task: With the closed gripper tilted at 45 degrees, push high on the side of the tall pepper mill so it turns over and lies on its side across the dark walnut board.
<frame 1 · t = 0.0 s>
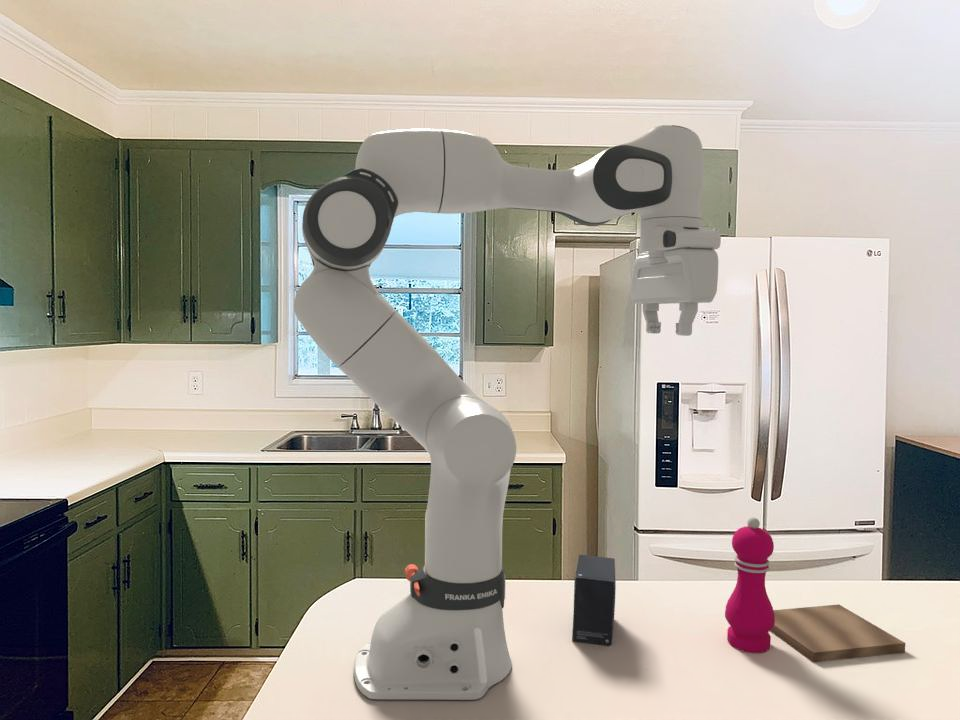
hand: (667, 334, 102), 48 cm above the countertop, tool pointing down, fingers open, 8 cm apart
small box: (593, 630, 110), on the countertop
walnut board: (826, 635, 109), on the countertop
pepper mill: (748, 644, 106), on the countertop
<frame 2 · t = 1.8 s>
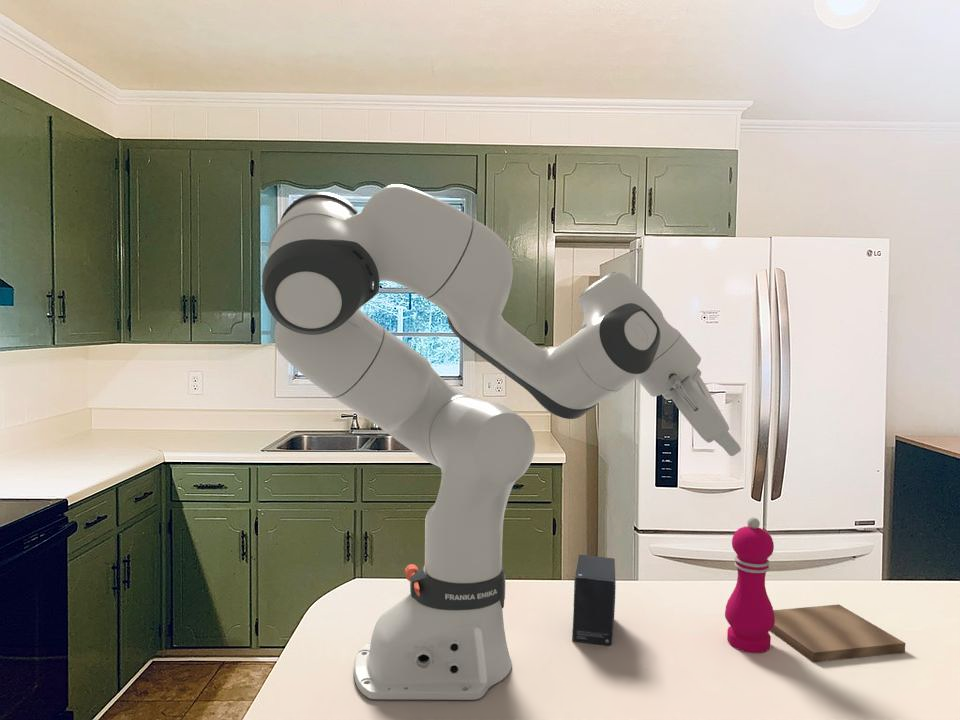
hand: (730, 441, 98), 33 cm above the countertop, tool tilted 40°, fingers open, 8 cm apart
nothing on the countertop moved.
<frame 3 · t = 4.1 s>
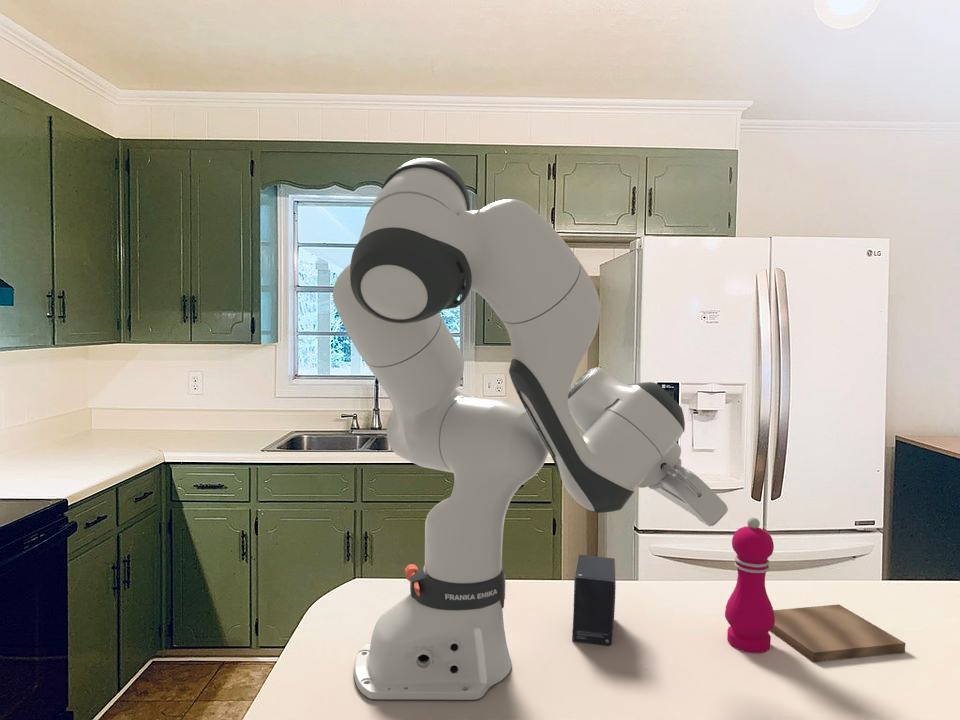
hand: (709, 520, 102), 20 cm above the countertop, tool tilted 45°, fingers closed
nothing on the countertop moved.
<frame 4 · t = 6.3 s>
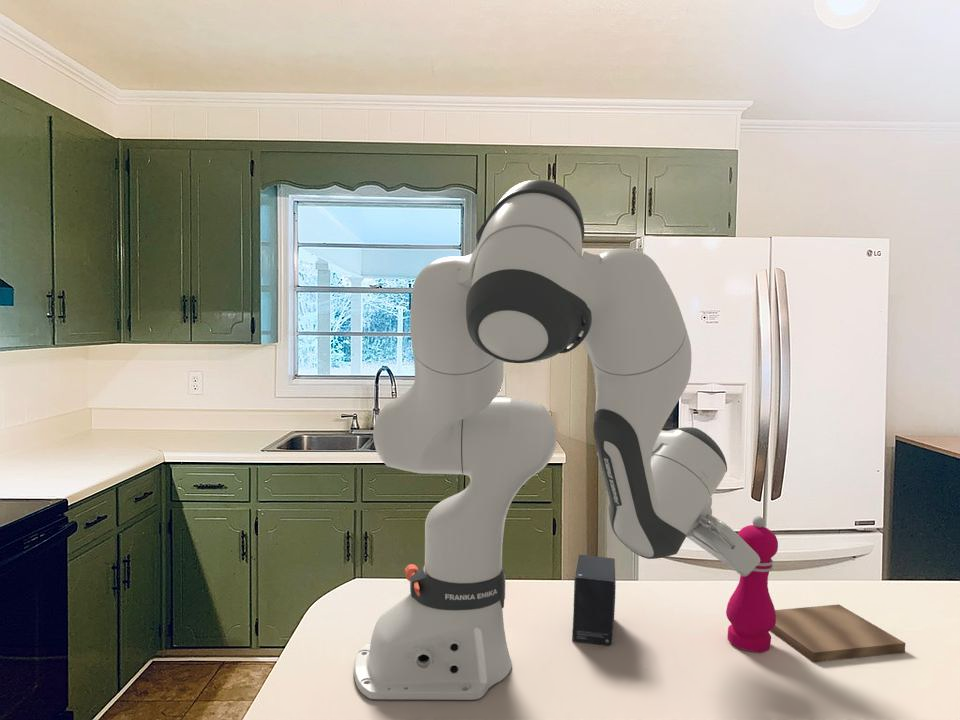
hand: (738, 566, 104), 13 cm above the countertop, tool tilted 45°, fingers closed
nothing on the countertop moved.
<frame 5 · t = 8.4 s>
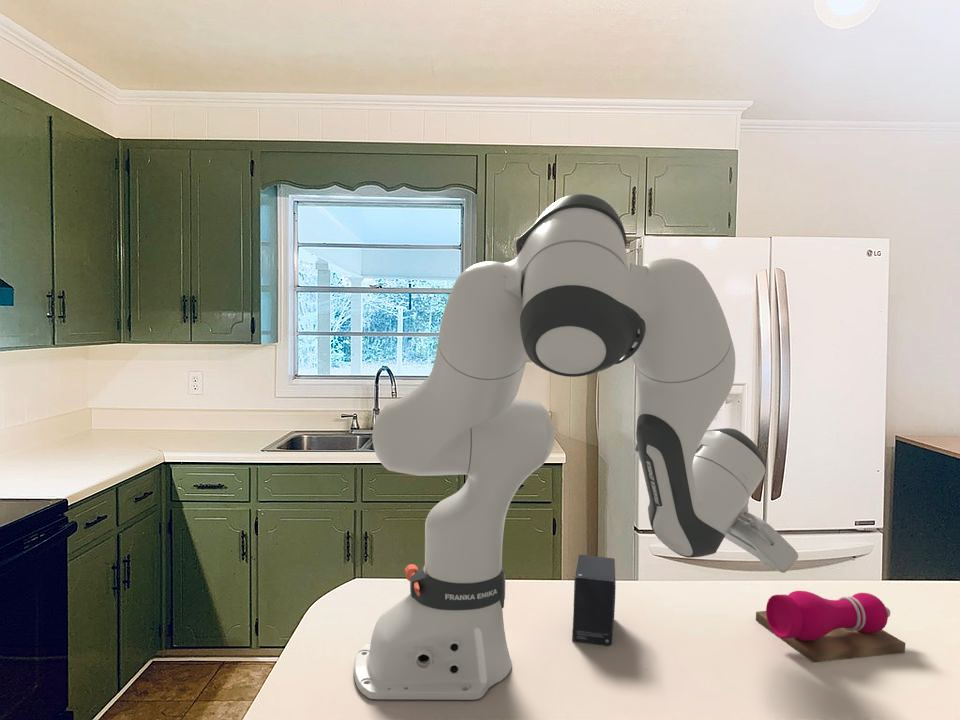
hand: (772, 563, 106), 13 cm above the countertop, tool tilted 45°, fingers closed
pepper mill: (777, 616, 104), point 5 cm above the countertop, touching walnut board
everything else where it was.
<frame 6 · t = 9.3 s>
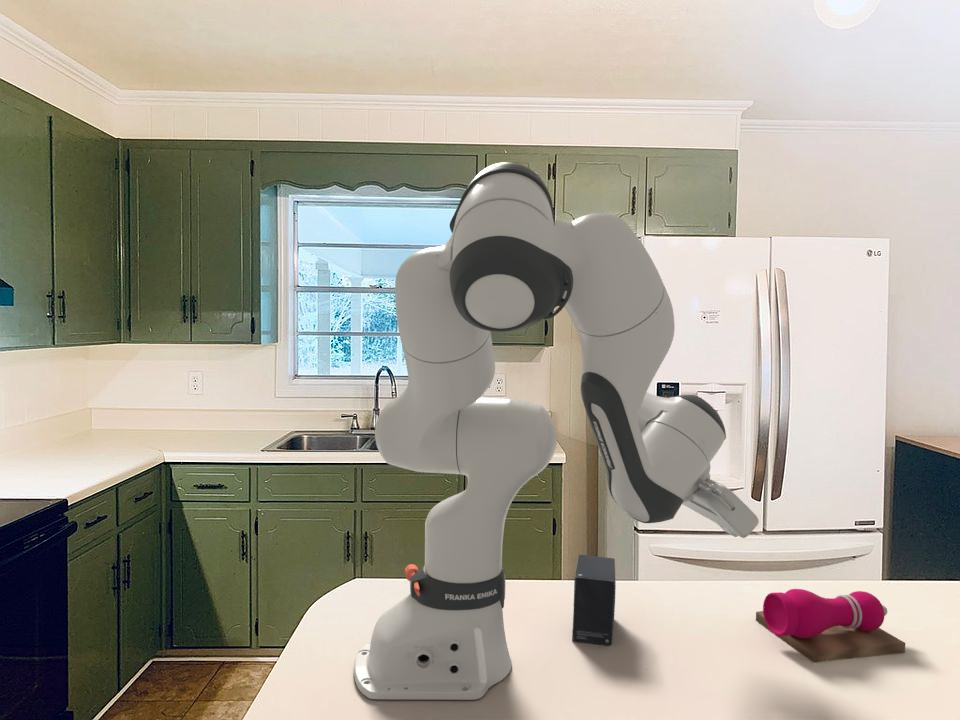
hand: (734, 531, 106), 17 cm above the countertop, tool tilted 45°, fingers closed
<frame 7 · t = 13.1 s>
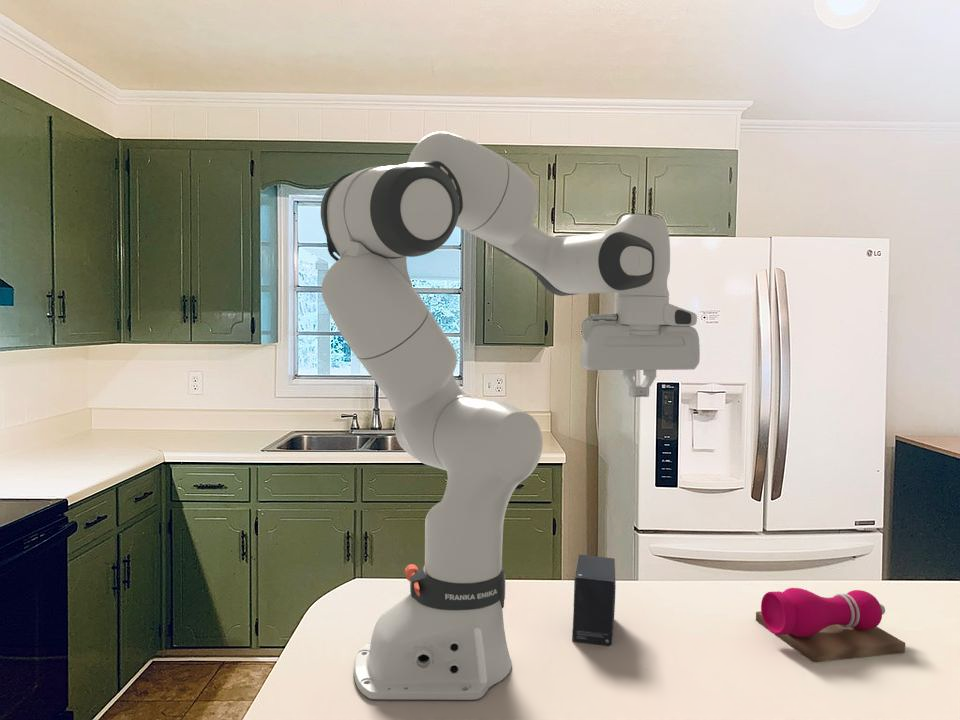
hand: (638, 396, 114), 37 cm above the countertop, tool pointing down, fingers closed
at the end: pepper mill tilted 93°; pepper mill touching walnut board; pepper mill inside the target area on the walnut board (4.9 cm from its centre), point 5.2 cm above the walnut board's base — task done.
